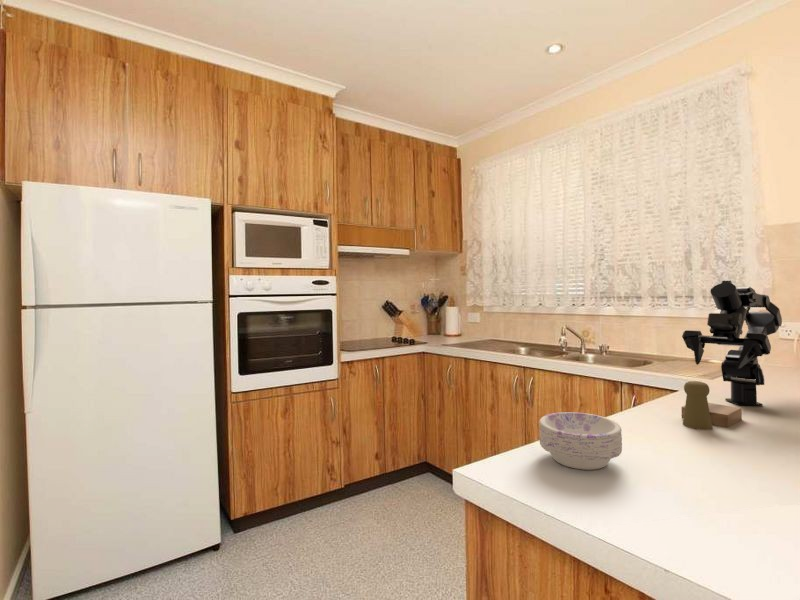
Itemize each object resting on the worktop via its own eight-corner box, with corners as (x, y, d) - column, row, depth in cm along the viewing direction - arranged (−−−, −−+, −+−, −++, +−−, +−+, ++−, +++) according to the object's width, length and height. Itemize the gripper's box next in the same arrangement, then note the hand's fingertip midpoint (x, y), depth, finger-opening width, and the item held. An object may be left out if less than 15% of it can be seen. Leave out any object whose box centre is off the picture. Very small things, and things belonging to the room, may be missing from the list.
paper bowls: (565, 480, 75) (564, 436, 75) (527, 450, 90) (526, 414, 90) (641, 473, 78) (640, 430, 78) (591, 445, 93) (590, 409, 93)
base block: (681, 418, 110) (681, 406, 110) (697, 411, 116) (696, 400, 116) (727, 427, 102) (727, 415, 102) (741, 419, 108) (741, 408, 108)
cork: (702, 422, 106) (701, 379, 106) (718, 429, 100) (717, 384, 100) (677, 422, 107) (676, 379, 107) (691, 429, 101) (690, 384, 101)
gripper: (683, 302, 122) (668, 343, 116) (766, 302, 107) (753, 349, 100) (695, 327, 127) (680, 368, 120) (776, 330, 111) (764, 377, 105)
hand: (716, 365), depth 111 cm, fingers open, 9 cm apart
